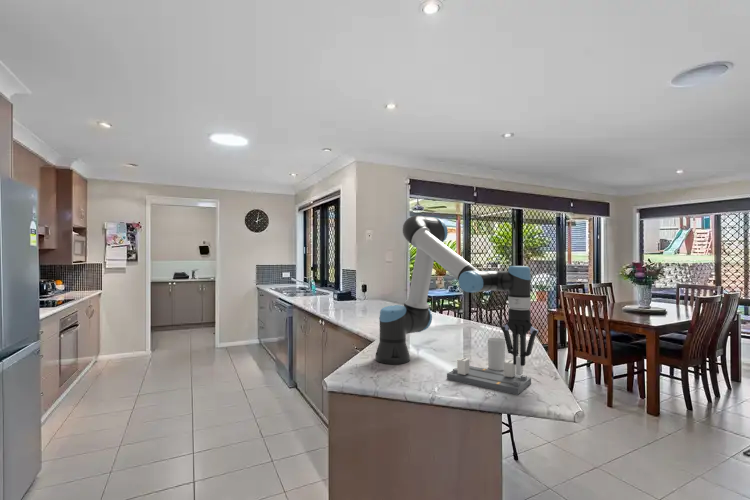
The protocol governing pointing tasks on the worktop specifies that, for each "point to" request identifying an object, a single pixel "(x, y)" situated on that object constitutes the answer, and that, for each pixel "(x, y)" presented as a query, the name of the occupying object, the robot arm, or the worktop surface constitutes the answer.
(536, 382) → the worktop surface
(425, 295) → the robot arm
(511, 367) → the fader far
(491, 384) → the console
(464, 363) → the fader near
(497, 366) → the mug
